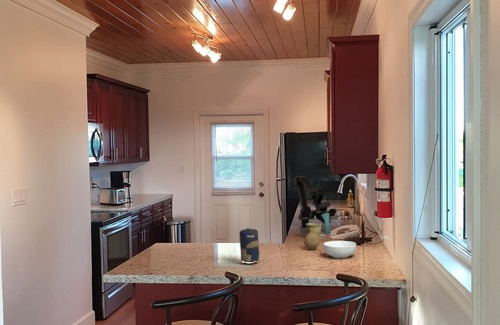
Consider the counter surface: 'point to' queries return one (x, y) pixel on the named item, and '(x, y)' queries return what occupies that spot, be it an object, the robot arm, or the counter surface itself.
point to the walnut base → (302, 232)
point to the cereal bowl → (340, 248)
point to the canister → (249, 245)
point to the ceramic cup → (314, 228)
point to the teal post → (326, 223)
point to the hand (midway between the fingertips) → (327, 222)
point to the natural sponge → (312, 241)
